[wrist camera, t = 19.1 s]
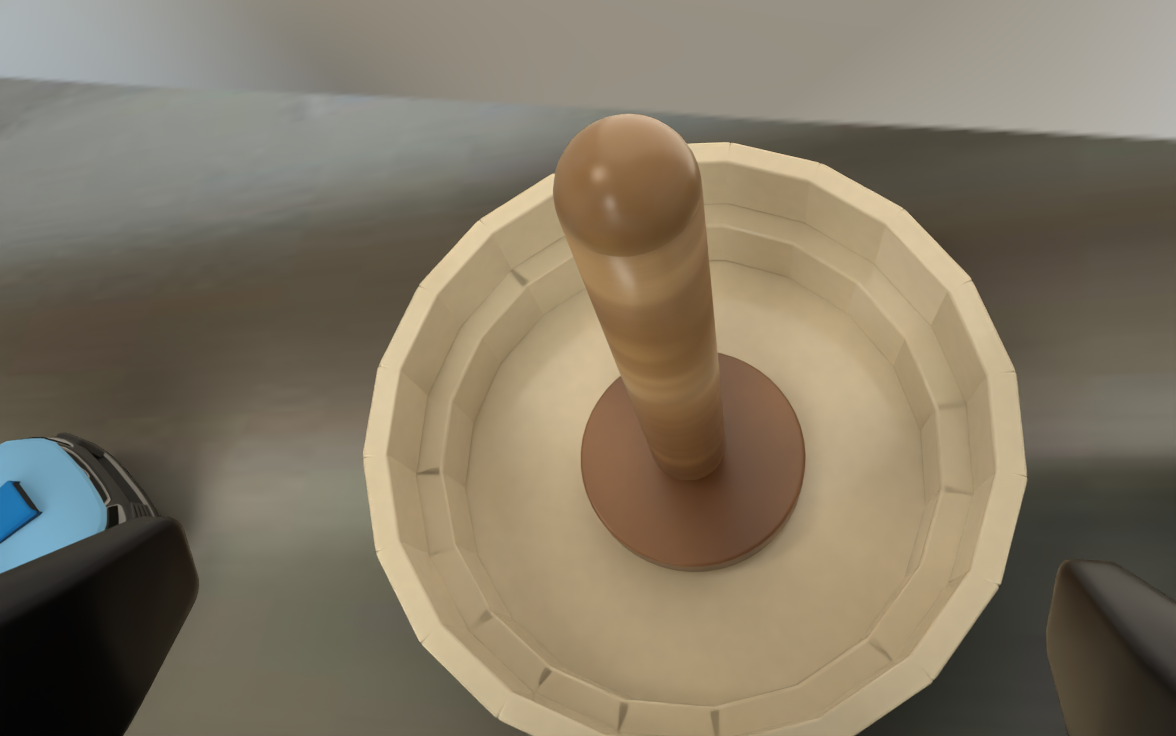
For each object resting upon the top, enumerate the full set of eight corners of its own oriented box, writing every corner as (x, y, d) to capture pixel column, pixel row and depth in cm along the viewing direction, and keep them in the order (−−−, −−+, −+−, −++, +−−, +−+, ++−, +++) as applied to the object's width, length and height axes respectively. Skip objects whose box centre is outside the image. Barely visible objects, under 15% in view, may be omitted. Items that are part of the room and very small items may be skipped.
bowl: (996, 788, 19) (1065, 814, 15) (395, 732, 22) (312, 739, 17) (949, 228, 24) (991, 129, 20) (466, 238, 27) (414, 153, 22)
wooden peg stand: (668, 618, 21) (543, 493, 8) (547, 442, 23) (300, 128, 10) (850, 485, 21) (1000, 169, 9) (713, 324, 23) (671, -118, 11)
